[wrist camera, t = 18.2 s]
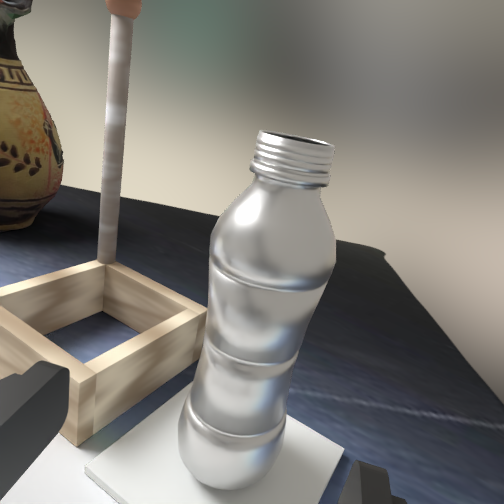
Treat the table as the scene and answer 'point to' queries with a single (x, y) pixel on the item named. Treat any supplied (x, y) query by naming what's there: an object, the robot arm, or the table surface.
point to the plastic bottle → (258, 312)
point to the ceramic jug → (23, 134)
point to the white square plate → (191, 489)
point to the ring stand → (103, 292)
